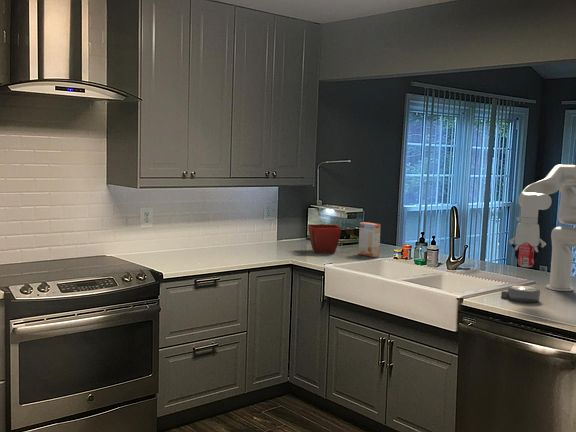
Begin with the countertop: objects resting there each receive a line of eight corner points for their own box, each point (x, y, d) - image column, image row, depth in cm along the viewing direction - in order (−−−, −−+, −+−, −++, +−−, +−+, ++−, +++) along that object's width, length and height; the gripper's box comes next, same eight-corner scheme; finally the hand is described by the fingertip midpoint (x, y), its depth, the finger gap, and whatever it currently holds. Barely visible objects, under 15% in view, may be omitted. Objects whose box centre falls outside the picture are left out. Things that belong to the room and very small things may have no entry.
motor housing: (504, 294, 305) (505, 283, 304) (541, 299, 297) (542, 287, 296) (499, 299, 292) (499, 288, 292) (537, 305, 285) (538, 293, 284)
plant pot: (307, 249, 425) (307, 224, 423) (335, 249, 427) (336, 224, 425) (311, 253, 406) (312, 227, 404) (340, 254, 408) (341, 228, 407)
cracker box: (379, 257, 402) (381, 224, 400) (372, 257, 399) (374, 224, 396) (365, 253, 414) (366, 221, 411) (357, 254, 410) (359, 222, 408)
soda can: (529, 264, 296) (531, 239, 295) (536, 267, 289) (538, 241, 288) (514, 264, 296) (516, 239, 295) (521, 267, 289) (522, 241, 288)
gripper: (507, 220, 291) (504, 258, 293) (548, 223, 283) (545, 262, 285) (510, 218, 298) (507, 256, 300) (550, 221, 289) (547, 260, 291)
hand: (526, 259), depth 292 cm, fingers closed on soda can, 7 cm apart
